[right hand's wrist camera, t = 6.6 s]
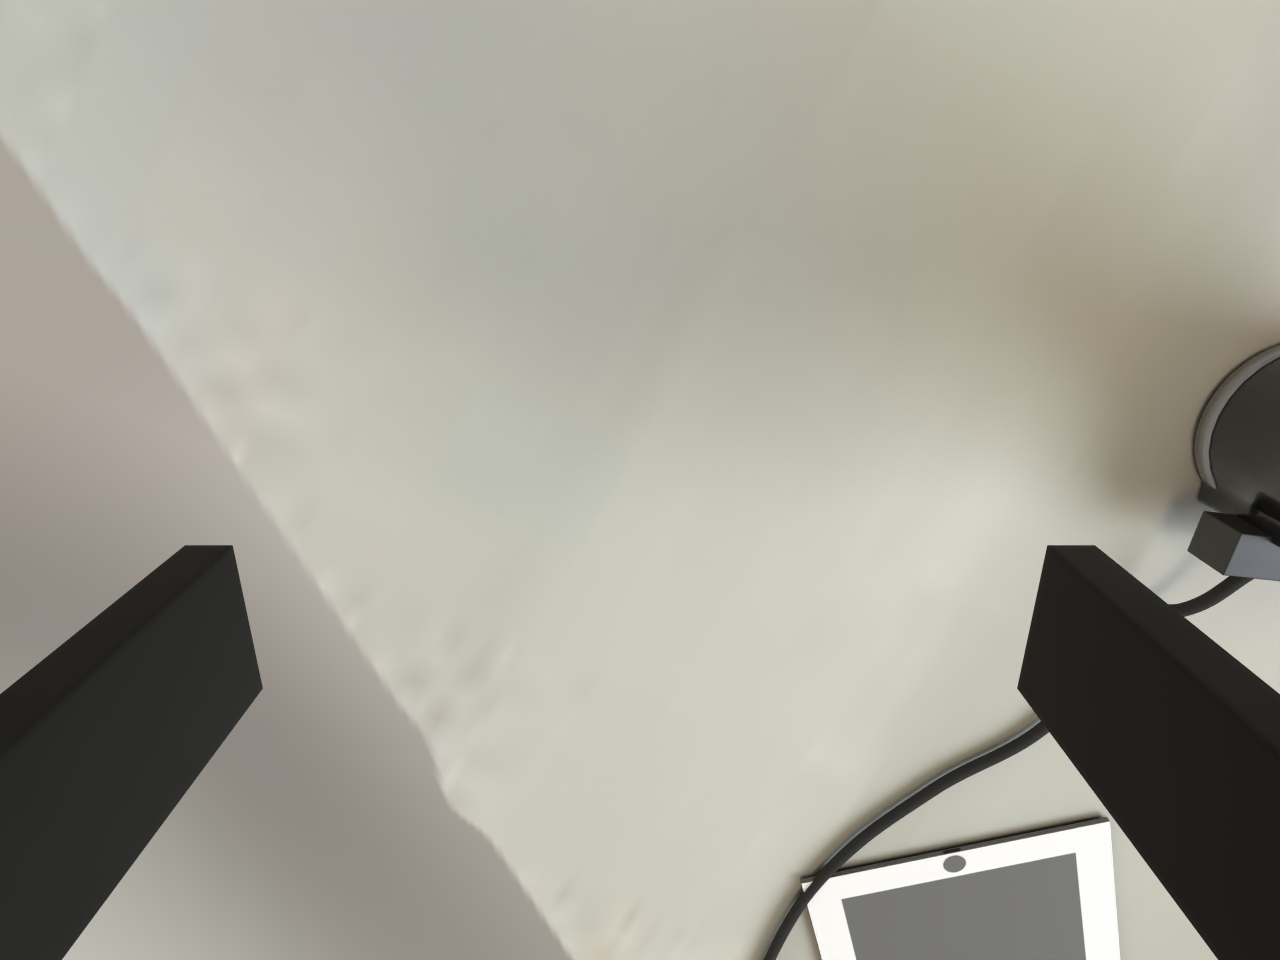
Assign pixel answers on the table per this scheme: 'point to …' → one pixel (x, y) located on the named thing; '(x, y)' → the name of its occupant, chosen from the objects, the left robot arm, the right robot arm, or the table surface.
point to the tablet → (978, 902)
